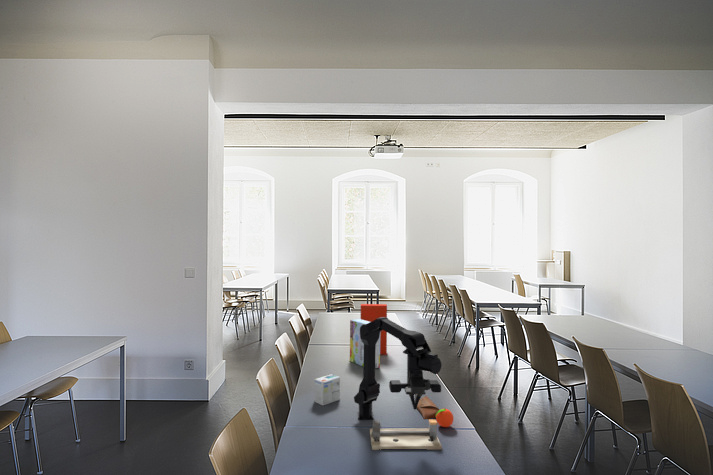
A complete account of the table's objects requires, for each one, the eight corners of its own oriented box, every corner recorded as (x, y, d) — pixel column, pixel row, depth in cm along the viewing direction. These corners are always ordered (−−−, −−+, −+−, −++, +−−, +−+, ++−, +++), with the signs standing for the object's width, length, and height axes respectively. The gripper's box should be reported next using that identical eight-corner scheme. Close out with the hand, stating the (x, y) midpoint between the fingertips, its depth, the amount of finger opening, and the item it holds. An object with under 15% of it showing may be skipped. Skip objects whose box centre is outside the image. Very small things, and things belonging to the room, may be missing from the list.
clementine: (440, 432, 161) (440, 413, 161) (430, 424, 167) (430, 407, 167) (457, 428, 164) (457, 410, 164) (446, 421, 170) (446, 404, 170)
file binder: (360, 351, 277) (360, 303, 277) (386, 351, 277) (386, 304, 277) (360, 354, 269) (360, 305, 269) (386, 355, 268) (387, 306, 269)
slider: (428, 434, 155) (428, 419, 155) (435, 434, 155) (435, 419, 155) (430, 440, 151) (431, 424, 151) (437, 440, 151) (438, 424, 151)
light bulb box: (331, 395, 197) (331, 373, 197) (340, 399, 192) (340, 376, 193) (313, 401, 190) (313, 378, 190) (323, 406, 185) (323, 382, 185)
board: (369, 431, 161) (369, 413, 161) (433, 431, 161) (433, 413, 161) (372, 449, 147) (372, 430, 147) (441, 449, 147) (441, 429, 147)
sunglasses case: (410, 403, 189) (417, 390, 190) (422, 409, 190) (429, 396, 191) (424, 419, 171) (432, 405, 172) (437, 427, 173) (445, 412, 173)
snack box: (381, 367, 241) (381, 324, 241) (369, 370, 236) (369, 325, 236) (360, 359, 259) (360, 318, 259) (348, 361, 254) (349, 319, 254)
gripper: (392, 374, 145) (392, 418, 145) (444, 374, 146) (444, 418, 146) (389, 364, 156) (388, 405, 156) (437, 364, 157) (437, 405, 157)
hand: (414, 409), depth 153 cm, fingers closed
